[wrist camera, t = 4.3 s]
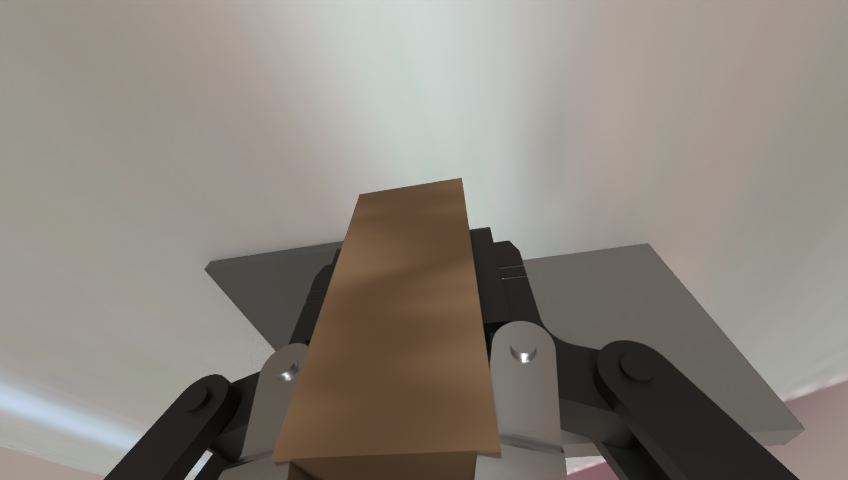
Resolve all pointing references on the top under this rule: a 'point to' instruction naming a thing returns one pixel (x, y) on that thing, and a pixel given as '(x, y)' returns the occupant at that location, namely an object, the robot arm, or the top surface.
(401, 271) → the block
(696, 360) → the tile
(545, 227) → the top surface
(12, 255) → the top surface
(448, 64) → the top surface
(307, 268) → the mat
